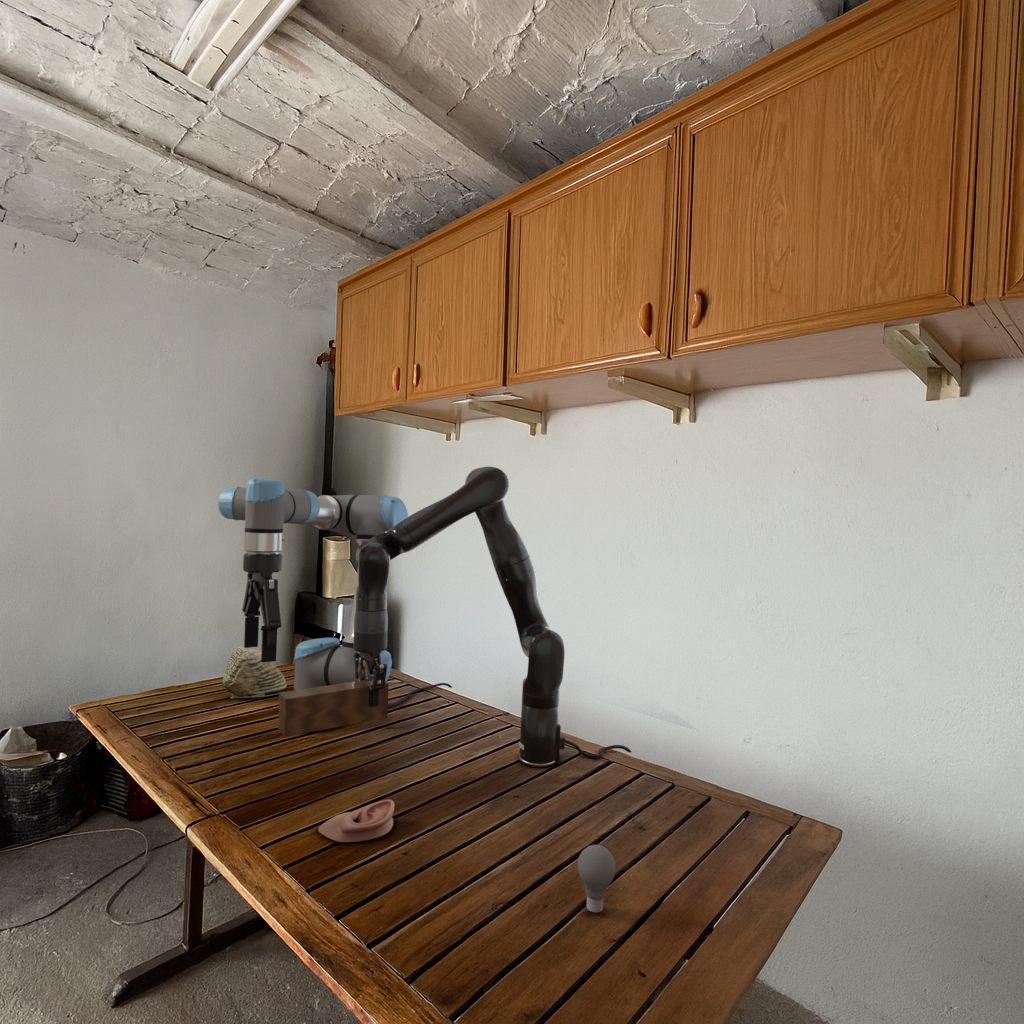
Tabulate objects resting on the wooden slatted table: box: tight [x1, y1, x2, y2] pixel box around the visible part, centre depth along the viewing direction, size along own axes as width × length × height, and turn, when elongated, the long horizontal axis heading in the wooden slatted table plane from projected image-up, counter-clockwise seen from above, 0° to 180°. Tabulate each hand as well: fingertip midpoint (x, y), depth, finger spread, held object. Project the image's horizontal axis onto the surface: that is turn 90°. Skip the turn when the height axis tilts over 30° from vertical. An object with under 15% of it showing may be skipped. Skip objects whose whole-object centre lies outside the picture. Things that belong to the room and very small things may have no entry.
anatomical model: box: [317, 799, 395, 843], centre depth 122 cm, size 13×4×12 cm
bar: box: [277, 680, 390, 738], centre depth 140 cm, size 23×5×8 cm, turn 125°
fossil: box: [222, 646, 288, 699], centre depth 198 cm, size 9×18×15 cm, turn 132°
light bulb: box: [577, 844, 617, 913], centre depth 100 cm, size 6×6×10 cm
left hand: (259, 654), depth 132 cm, fingers open, 13 cm apart
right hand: (368, 702), depth 144 cm, fingers closed on bar, 5 cm apart
